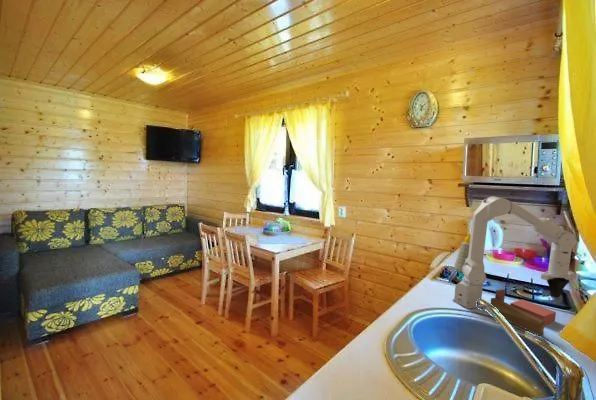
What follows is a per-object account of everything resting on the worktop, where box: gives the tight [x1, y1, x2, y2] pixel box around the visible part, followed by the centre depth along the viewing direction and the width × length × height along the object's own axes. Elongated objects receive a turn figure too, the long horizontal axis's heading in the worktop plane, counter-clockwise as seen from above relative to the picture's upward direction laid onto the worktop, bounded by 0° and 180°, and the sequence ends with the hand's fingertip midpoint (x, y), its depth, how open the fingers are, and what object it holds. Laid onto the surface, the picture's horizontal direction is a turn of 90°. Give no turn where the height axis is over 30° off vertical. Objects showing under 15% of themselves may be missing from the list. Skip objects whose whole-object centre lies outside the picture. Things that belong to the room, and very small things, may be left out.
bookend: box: [494, 288, 506, 302], centre depth 116 cm, size 4×1×8 cm, turn 107°
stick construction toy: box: [451, 269, 464, 282], centre depth 145 cm, size 12×7×8 cm
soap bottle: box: [453, 232, 471, 273], centre depth 161 cm, size 12×12×20 cm
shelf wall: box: [489, 297, 545, 337], centre depth 107 cm, size 2×18×5 cm, turn 17°
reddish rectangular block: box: [509, 299, 557, 327], centre depth 112 cm, size 8×11×4 cm
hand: (555, 296), depth 114 cm, fingers closed
